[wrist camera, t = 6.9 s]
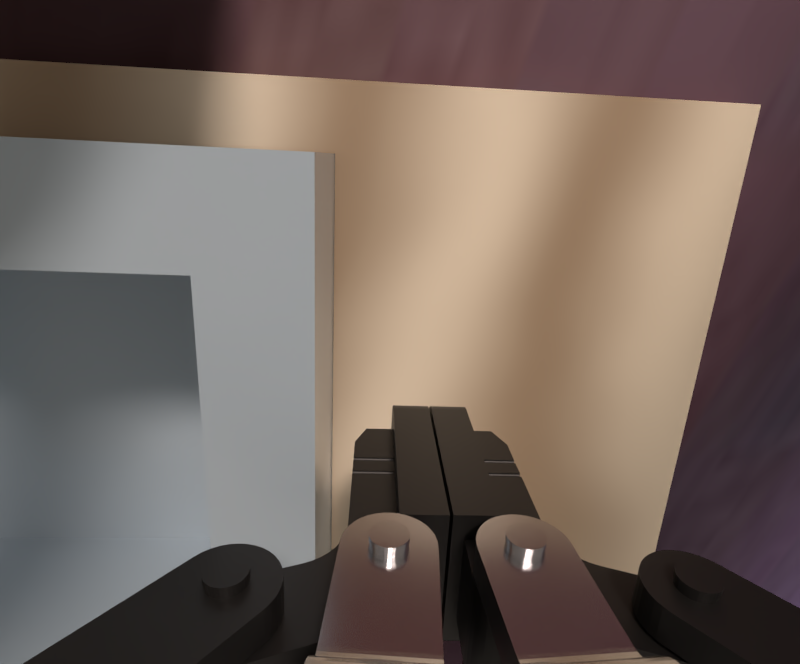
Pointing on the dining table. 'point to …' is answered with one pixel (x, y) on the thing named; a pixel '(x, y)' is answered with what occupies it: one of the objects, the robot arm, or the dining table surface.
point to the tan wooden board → (480, 258)
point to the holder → (157, 368)
